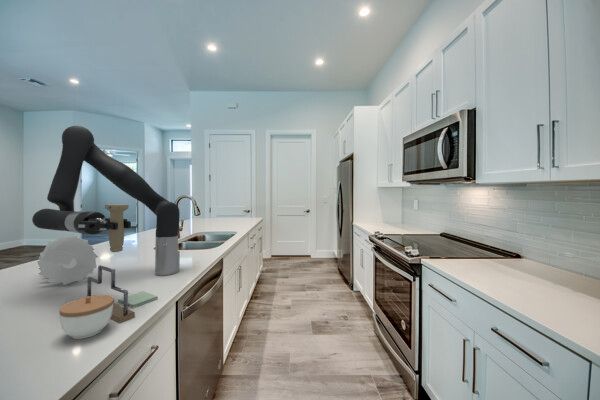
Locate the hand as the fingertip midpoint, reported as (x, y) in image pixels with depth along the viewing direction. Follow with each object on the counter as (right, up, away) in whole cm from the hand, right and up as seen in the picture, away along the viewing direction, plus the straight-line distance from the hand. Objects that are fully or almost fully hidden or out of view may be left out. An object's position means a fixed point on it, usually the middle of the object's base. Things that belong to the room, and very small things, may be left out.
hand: (123, 225), depth 77 cm
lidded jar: (0, -27, -13) cm, 30 cm away
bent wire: (-5, -27, -1) cm, 27 cm away
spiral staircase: (-42, -26, +26) cm, 56 cm away
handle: (-3, -9, +1) cm, 9 cm away
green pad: (0, -27, +7) cm, 27 cm away
